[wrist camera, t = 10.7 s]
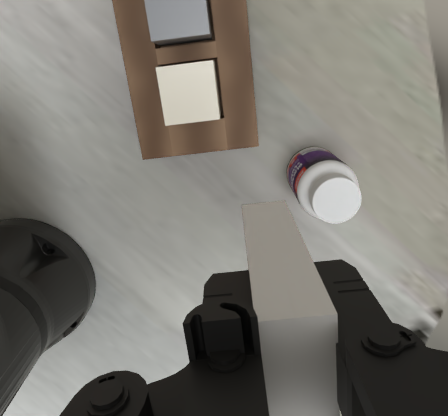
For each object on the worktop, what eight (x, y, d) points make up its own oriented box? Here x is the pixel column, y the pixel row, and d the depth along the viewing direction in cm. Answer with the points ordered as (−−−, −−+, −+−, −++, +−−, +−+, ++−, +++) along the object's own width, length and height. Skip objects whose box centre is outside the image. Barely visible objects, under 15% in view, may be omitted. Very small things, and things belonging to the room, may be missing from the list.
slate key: (161, 46, 34) (151, 41, 29) (152, -12, 33) (139, -27, 28) (212, 39, 34) (209, 33, 29) (205, -19, 32) (201, -35, 28)
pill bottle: (283, 150, 39) (300, 174, 30) (335, 142, 39) (369, 163, 29) (288, 200, 41) (307, 236, 31) (339, 192, 40) (372, 226, 31)
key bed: (149, 152, 39) (142, 159, 36) (96, -135, 31) (81, -160, 28) (256, 140, 39) (258, 146, 35) (229, -155, 31) (230, -183, 27)
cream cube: (173, 119, 36) (165, 125, 31) (165, 68, 35) (155, 67, 30) (220, 113, 36) (220, 119, 31) (214, 62, 34) (212, 60, 30)
